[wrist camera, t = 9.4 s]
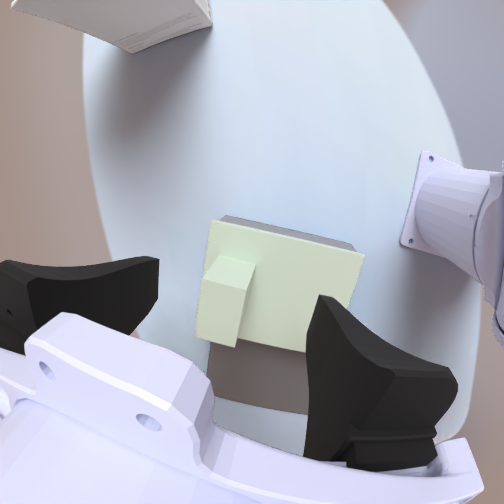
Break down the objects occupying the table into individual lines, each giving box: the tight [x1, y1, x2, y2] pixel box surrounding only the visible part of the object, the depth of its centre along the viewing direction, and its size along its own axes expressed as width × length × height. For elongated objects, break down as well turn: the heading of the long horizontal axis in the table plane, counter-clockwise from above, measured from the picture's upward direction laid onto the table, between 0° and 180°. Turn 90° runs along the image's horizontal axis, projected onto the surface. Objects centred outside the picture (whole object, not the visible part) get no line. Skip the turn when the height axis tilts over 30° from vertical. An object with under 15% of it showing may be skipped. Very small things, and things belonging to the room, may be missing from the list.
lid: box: [195, 220, 365, 352], centre depth 18 cm, size 10×8×5 cm
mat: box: [206, 338, 309, 415], centre depth 25 cm, size 12×10×1 cm
